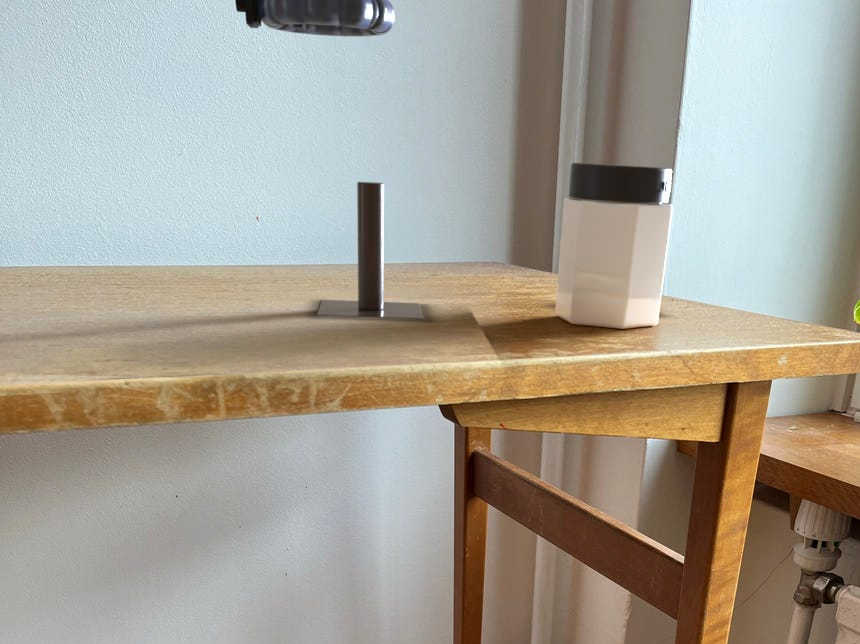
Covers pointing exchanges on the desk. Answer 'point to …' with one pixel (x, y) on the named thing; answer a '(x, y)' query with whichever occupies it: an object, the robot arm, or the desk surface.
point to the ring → (328, 16)
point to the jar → (613, 245)
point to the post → (370, 264)
